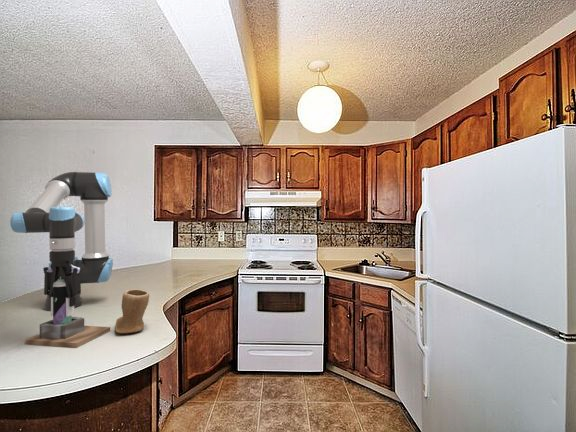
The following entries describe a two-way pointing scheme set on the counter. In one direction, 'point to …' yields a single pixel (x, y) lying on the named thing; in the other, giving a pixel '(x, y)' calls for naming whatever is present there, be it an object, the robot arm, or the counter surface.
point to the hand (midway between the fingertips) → (62, 314)
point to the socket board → (72, 339)
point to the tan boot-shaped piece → (132, 311)
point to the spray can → (60, 302)
